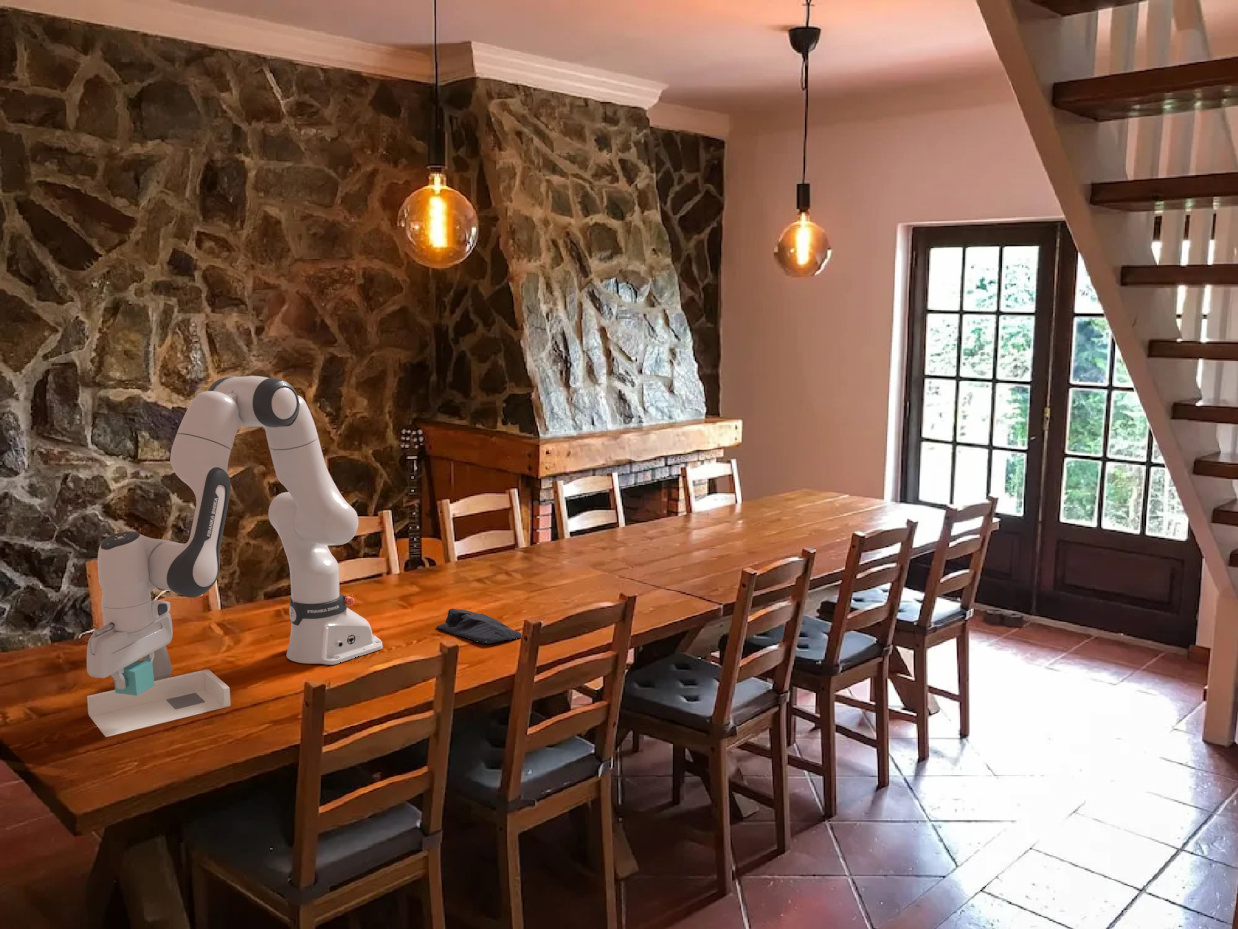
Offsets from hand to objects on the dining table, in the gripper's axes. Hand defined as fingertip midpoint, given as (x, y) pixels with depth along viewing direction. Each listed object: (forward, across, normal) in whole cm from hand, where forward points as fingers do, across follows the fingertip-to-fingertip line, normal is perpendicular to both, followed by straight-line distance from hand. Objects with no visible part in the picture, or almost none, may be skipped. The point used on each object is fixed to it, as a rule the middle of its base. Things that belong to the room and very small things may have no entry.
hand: (134, 681), depth 203 cm
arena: (+10, +6, -1) cm, 11 cm away
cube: (+2, 0, 0) cm, 2 cm away
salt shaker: (+10, +20, +12) cm, 26 cm away
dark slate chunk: (+13, +72, -44) cm, 86 cm away
